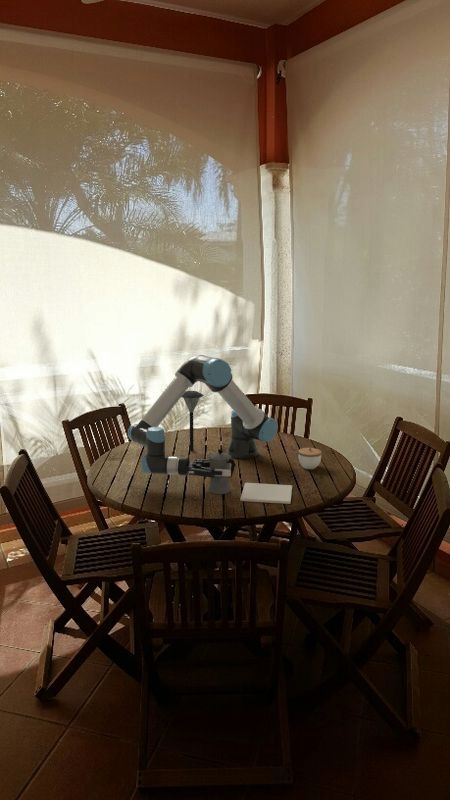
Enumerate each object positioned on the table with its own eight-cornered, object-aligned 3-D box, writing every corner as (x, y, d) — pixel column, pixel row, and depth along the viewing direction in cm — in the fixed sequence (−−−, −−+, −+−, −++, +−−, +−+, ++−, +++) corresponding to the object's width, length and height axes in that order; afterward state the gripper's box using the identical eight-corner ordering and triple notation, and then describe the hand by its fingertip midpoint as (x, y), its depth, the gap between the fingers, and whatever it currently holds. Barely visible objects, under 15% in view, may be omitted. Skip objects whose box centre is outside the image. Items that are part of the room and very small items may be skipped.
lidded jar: (320, 471, 284) (321, 452, 282) (296, 470, 286) (297, 450, 284) (321, 464, 294) (322, 445, 292) (298, 462, 296) (299, 443, 294)
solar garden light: (203, 454, 307) (203, 394, 301) (178, 453, 307) (178, 394, 301) (204, 446, 319) (204, 389, 313) (180, 446, 319) (179, 389, 313)
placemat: (245, 484, 267) (245, 482, 266) (292, 487, 264) (292, 485, 264) (240, 500, 249) (240, 498, 249) (290, 503, 247) (290, 501, 246)
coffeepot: (200, 488, 261) (200, 447, 257) (217, 483, 268) (217, 443, 264) (225, 499, 251) (226, 457, 246) (242, 493, 257) (243, 452, 253)
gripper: (184, 465, 271) (235, 468, 268) (173, 483, 250) (228, 487, 247) (184, 449, 269) (235, 452, 266) (173, 466, 248) (228, 469, 245)
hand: (232, 468), depth 256 cm, fingers closed on coffeepot, 9 cm apart
